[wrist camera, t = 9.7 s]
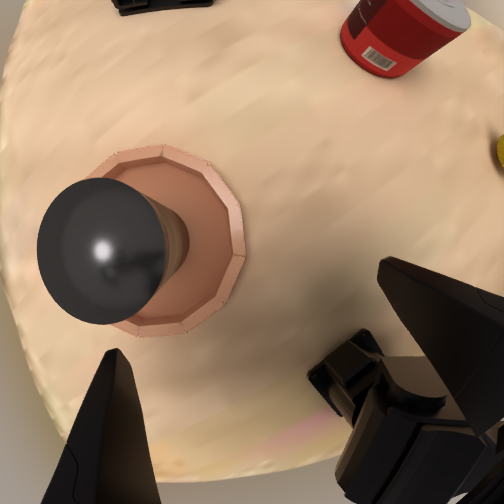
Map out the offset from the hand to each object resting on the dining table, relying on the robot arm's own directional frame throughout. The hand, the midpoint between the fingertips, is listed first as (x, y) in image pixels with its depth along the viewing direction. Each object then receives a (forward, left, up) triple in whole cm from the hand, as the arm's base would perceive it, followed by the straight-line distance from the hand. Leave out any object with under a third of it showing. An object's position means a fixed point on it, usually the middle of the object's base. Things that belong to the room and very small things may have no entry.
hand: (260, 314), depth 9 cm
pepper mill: (+5, +3, -12) cm, 14 cm away
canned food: (+9, -23, -13) cm, 28 cm away
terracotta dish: (+5, +4, -13) cm, 14 cm away
